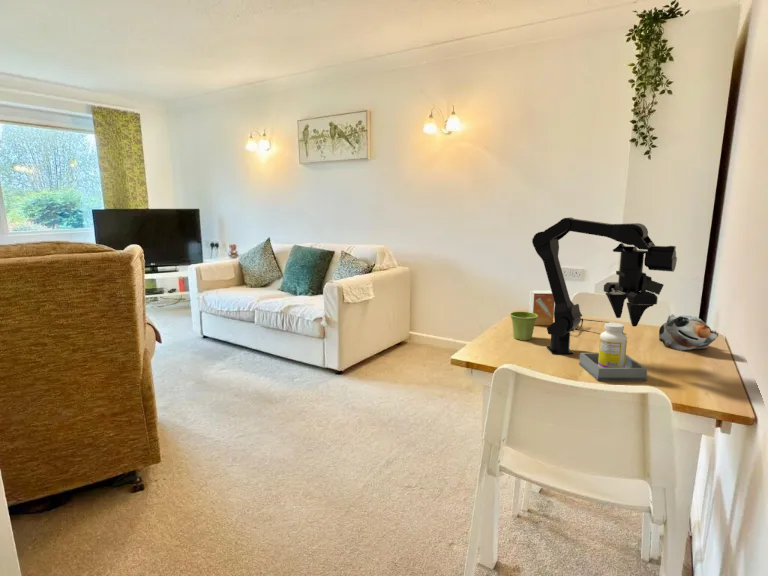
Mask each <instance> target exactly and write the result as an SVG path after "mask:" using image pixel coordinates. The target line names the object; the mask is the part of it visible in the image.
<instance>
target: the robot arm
mask: <svg viewBox="0 0 768 576" xmlns="http://www.w3.org/2000/svg"><path fill="white" fill-rule="evenodd" d="M648 231H649V230H648V228H647V227H646V225H644V224H643V223H608V222H600V221H593V220H586V219H578V218H574V217H563V218H562V219H560V220H559V221H558V222H556V223H555V224H553V225H551V226H550V227H548V228H547V229H544V231H539V232H537V233H535V234H534V236H533V238H531V240H532V241H531V243H532V246H533V248H534V250H535V252H536V254H537V255H538V256H539V258H540V259H541V260H542V262H543V265H544V269H545V273H546V277H547V281H548V283H549V287H550V290H551V291H552V295H553V298H554V316H553V323H552V324H551V325H550V326H547V327H546V331H547V334H548V335H550V345H547V346H546V348H547V350H548V351H549V352H550V353H551V354H552V355H553V354H554V355H574V352H573V350H571V349H570V344H571V332H573V329H574V328H575V327H576V326H577V327H578V326H579V325H580V323H582V320H581V319H582V318H581V317H583V314H582V312H581V310H580V305H579V303H576V304H574V303H573V302H572V300H571V298H570V295H569V290H568V288H567V284H566V280H565V277H564V273H563V270H562V266H561V263H560V259H559V251H560V244H559V243H560V240H561V239H563V238H564V237H565V236H566V235H567V234H569V232H572V233H573V232H574V233H580V234H586V235H592V236H598V237H605V238H609V239H611V240H613V241H616V242H618V245H617V246H616V247H615V248H613V249H612V252H614V253H620V258H619V259H620V261H619V269H618V270H616V272H615V274H616V276H617V275H618V281H617V282H616V281H615V282H614V281H611V282H606V283H605V284H604V285H603V292H604V293H605V296H606V297H607V300H608V301H609V303H610V305H611V308H612V310H613V313H614V316H615V318H617V319H620V318H621V317H622V314H623V309H624V304H625V301H626V299H627V302H626V306H627V310H628V311H627V312H628V315H629V320H630V324H631V326H632V327H637V326H638V325H639V322H640V320H641V318H642V316H643V314H644V313H645V311H646V310H647V309H648V308H651V307H653V306H654V305H657V304H658V298H659V297H658V296H659V295H660V293H661V292H662V289H663V287H664V286H665V285H664V283H660V282H657V281H656V280H652V276H649V275H647V274H646V272H644V271H643V269H644V266H645V267H646V268H648V270H649V271H660V272H670V273H671V272H672V273H673V272H675V269H676V267H677V266H676V265H677V260H678V257H677V251H676V248H677V247H676V246H675V245H667V246H665V245H664V246H663V245H655V243H654V242H653V240H652V239H651V238H650V236H649V232H648ZM575 329H576V328H575Z"/></svg>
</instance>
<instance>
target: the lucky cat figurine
mask: <svg viewBox="0 0 768 576" xmlns="http://www.w3.org/2000/svg"><path fill="white" fill-rule="evenodd" d="M718 337H719V332H717V331H716V330H712V329H711V327H710V326H709V325H708V324H707V323H706V322H704V321H703V320H702V319H701V318H699V317H697V316H692V315H684V314H683V315H678V316H676V315H674V313H673V314H670V315H668V317H667V320H666V322H665V323H663V324H661V326H660V327H659V331H658V341H659V342H661V343H663V345H664V347H665V348H669V349H672V350H676V351H680V350H681V351H680V352H683V351H687V350H689V351H690V350H693V349H695V350H696V349H697V350H698V349H709V345H710V344H713V342H714V341H716V339H717V338H718Z"/></svg>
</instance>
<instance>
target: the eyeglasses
mask: <svg viewBox="0 0 768 576" xmlns="http://www.w3.org/2000/svg"><path fill="white" fill-rule="evenodd" d="M584 321H590V322H600V323H604V321H602V320H594V319H593V320H592V319H585V318H581V322H580V323H581V326H580V328H581V327H583V323H584ZM605 323H611V322H610V321H605ZM573 331H581V332H585V330H583V329H578V326H576V327H575V328H574V329H573ZM573 331H572V332H573ZM586 332H588V333H591V331H590V330H586ZM592 333H593V334H598V335H599V336H600V335H601V333H599V332H595V331H592ZM623 334H625V333H624V332H623Z"/></svg>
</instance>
